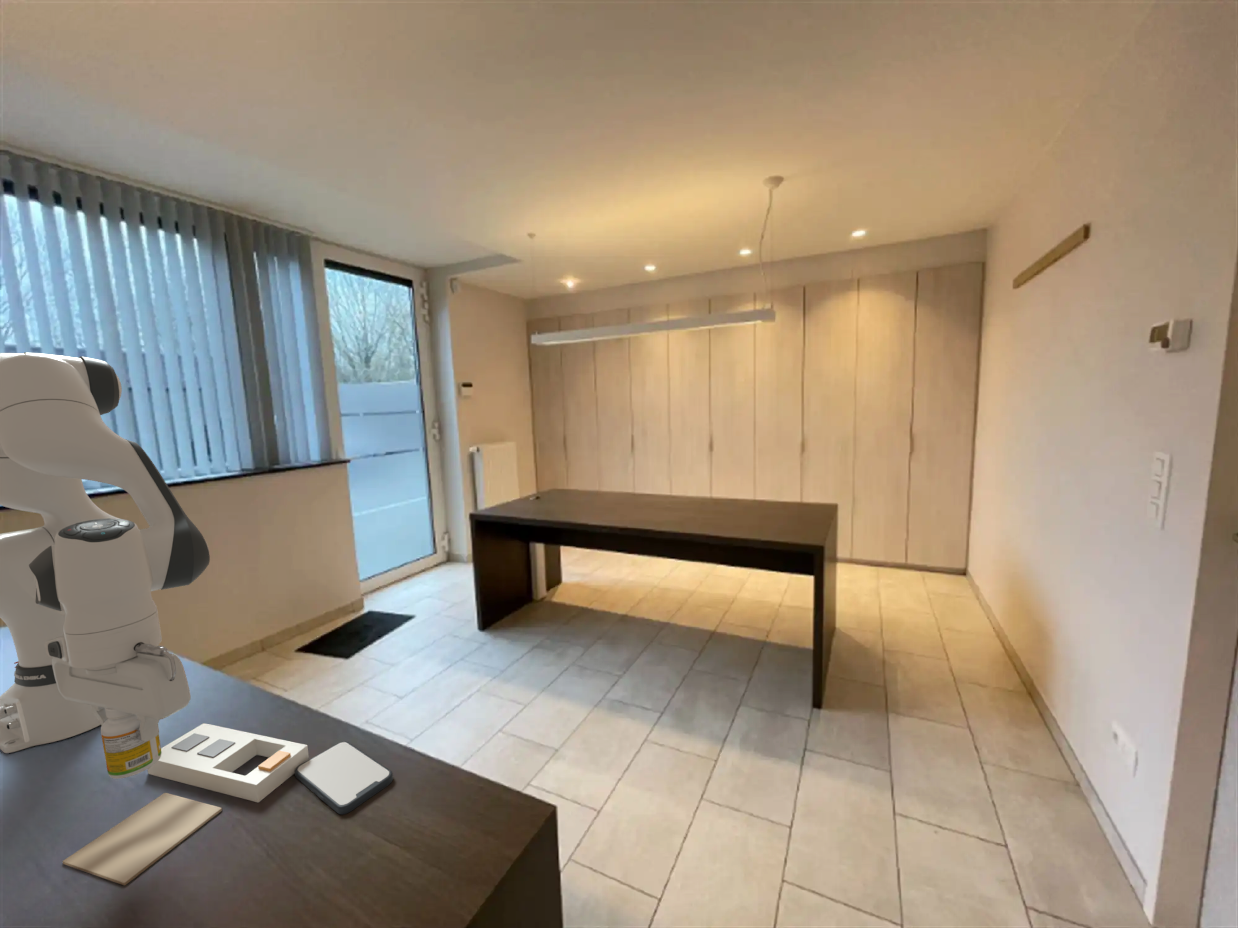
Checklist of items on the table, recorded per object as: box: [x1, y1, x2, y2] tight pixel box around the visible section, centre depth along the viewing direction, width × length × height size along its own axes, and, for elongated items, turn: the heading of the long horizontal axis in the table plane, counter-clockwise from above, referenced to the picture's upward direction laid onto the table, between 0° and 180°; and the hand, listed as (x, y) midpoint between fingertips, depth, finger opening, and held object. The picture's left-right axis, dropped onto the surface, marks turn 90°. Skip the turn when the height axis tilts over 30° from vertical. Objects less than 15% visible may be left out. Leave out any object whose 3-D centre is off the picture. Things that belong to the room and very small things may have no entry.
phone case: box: [294, 741, 394, 815], centre depth 80 cm, size 9×2×16 cm
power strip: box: [147, 722, 310, 803], centre depth 83 cm, size 24×9×4 cm, turn 75°
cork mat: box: [62, 792, 223, 886], centre depth 70 cm, size 12×12×1 cm
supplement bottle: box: [100, 708, 162, 780], centre depth 68 cm, size 5×5×10 cm
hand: (131, 733), depth 68 cm, fingers closed on supplement bottle, 5 cm apart
